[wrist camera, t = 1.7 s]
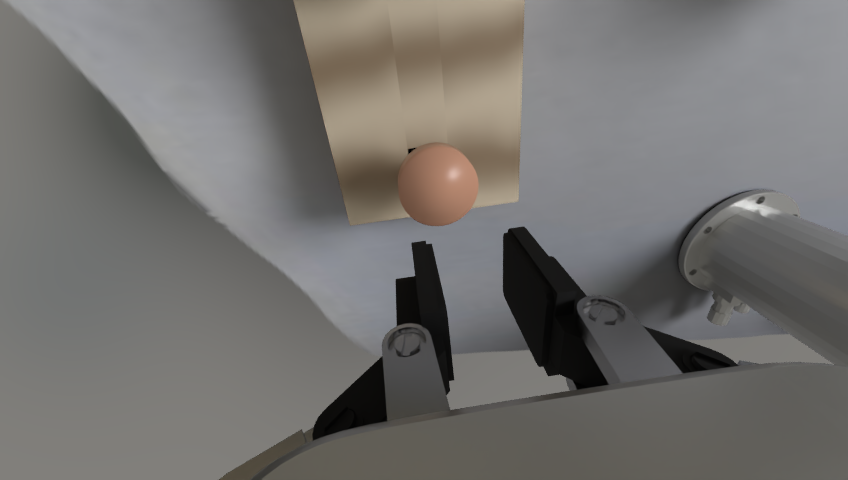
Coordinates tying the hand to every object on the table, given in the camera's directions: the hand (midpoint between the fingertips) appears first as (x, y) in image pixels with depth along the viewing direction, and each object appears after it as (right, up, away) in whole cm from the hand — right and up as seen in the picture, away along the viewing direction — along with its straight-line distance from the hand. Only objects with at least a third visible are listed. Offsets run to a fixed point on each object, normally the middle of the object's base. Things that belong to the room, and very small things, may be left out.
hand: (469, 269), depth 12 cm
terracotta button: (-1, +7, +13) cm, 15 cm away
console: (-3, +15, +13) cm, 20 cm away
